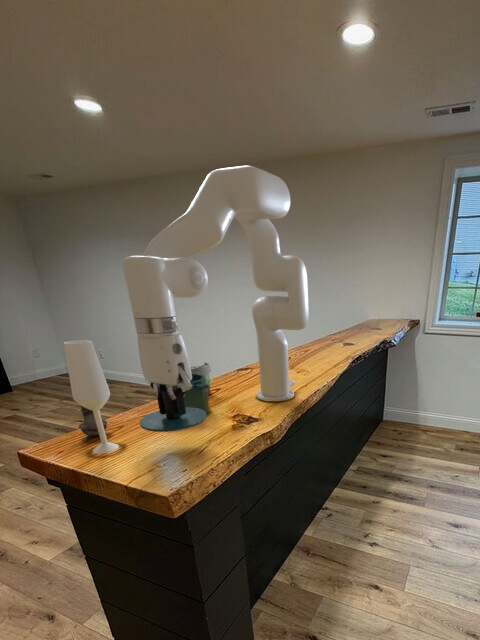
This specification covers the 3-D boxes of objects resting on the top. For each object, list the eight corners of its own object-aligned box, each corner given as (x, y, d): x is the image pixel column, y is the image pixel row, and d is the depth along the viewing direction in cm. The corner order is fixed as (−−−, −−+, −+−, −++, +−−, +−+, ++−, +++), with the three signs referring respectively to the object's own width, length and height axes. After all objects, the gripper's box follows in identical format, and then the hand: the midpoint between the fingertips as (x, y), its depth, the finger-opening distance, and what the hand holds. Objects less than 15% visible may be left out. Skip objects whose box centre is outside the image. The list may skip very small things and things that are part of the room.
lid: (178, 407, 85) (174, 381, 82) (220, 417, 79) (216, 389, 76) (126, 426, 74) (119, 397, 71) (169, 439, 68) (163, 407, 65)
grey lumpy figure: (81, 444, 81) (66, 395, 76) (83, 435, 86) (70, 388, 81) (110, 440, 84) (97, 392, 79) (111, 431, 88) (99, 385, 84)
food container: (193, 402, 111) (188, 371, 107) (180, 399, 114) (175, 368, 110) (221, 392, 121) (218, 364, 117) (209, 390, 124) (205, 362, 120)
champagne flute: (122, 442, 83) (97, 338, 73) (124, 452, 77) (98, 342, 68) (88, 448, 79) (58, 340, 70) (89, 459, 74) (56, 345, 65)
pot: (182, 403, 110) (177, 370, 106) (225, 412, 102) (221, 377, 98) (147, 414, 100) (140, 379, 96) (191, 426, 92) (185, 388, 88)
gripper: (201, 327, 67) (213, 415, 75) (147, 322, 75) (163, 403, 82) (169, 331, 61) (185, 427, 69) (113, 326, 69) (133, 413, 76)
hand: (173, 413), depth 75 cm, fingers closed on lid, 3 cm apart
